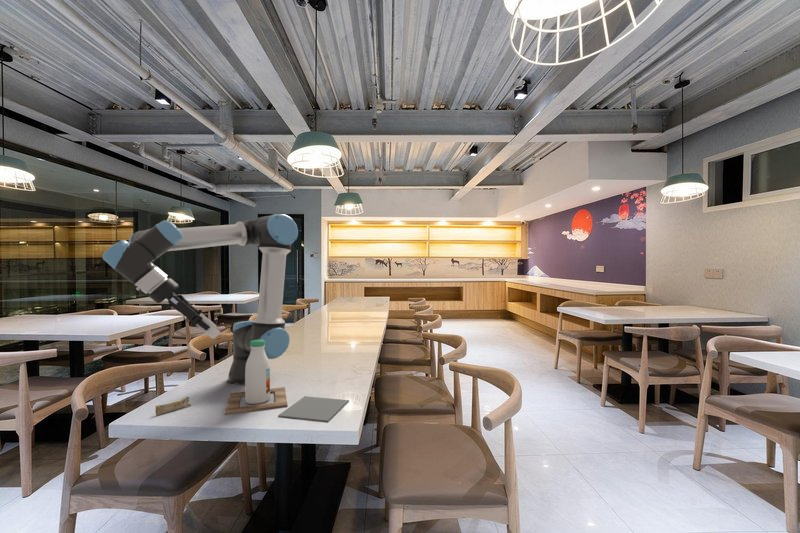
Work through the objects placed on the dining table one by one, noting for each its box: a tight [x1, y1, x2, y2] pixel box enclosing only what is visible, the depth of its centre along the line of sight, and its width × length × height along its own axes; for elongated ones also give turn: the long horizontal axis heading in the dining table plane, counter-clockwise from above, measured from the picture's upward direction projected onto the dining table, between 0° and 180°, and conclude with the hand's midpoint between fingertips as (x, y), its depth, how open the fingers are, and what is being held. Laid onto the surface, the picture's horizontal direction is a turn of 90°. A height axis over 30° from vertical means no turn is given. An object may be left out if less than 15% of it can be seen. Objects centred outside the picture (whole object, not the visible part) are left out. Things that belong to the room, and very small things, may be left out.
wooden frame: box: [224, 386, 288, 416], centre depth 118 cm, size 18×18×1 cm
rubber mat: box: [277, 395, 350, 423], centre depth 111 cm, size 16×16×1 cm
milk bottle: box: [244, 339, 271, 405], centre depth 118 cm, size 8×8×20 cm
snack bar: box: [155, 396, 191, 417], centre depth 110 cm, size 10×2×3 cm, turn 142°
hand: (215, 332), depth 112 cm, fingers open, 13 cm apart
